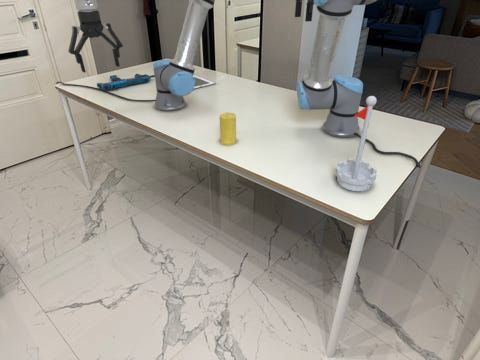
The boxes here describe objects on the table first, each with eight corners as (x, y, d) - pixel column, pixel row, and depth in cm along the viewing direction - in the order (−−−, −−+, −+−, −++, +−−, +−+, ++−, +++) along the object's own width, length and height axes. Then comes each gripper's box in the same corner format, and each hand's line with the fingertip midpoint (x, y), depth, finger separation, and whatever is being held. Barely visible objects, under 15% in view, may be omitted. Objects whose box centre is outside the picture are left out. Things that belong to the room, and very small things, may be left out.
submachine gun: (141, 68, 225) (159, 74, 208) (142, 74, 227) (160, 80, 210) (89, 78, 206) (104, 86, 190) (91, 84, 208) (106, 92, 192)
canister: (239, 142, 141) (238, 116, 134) (225, 146, 138) (224, 119, 131) (230, 136, 145) (230, 111, 139) (217, 140, 142) (216, 114, 136)
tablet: (159, 78, 216) (159, 77, 215) (186, 72, 227) (186, 71, 226) (187, 90, 195) (187, 90, 195) (215, 83, 206) (215, 82, 206)
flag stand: (357, 168, 122) (375, 86, 106) (382, 188, 112) (406, 100, 96) (326, 176, 118) (340, 91, 102) (349, 196, 108) (368, 106, 92)
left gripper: (53, 14, 116) (71, 76, 128) (124, 8, 129) (134, 65, 140) (49, 12, 121) (66, 72, 133) (117, 6, 134) (127, 61, 145)
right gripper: (289, -37, 153) (286, 15, 164) (310, -36, 132) (304, 23, 144) (305, -37, 154) (301, 15, 166) (328, -36, 134) (321, 22, 145)
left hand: (101, 68), depth 137 cm, fingers open, 13 cm apart
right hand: (302, 19), depth 155 cm, fingers open, 13 cm apart
